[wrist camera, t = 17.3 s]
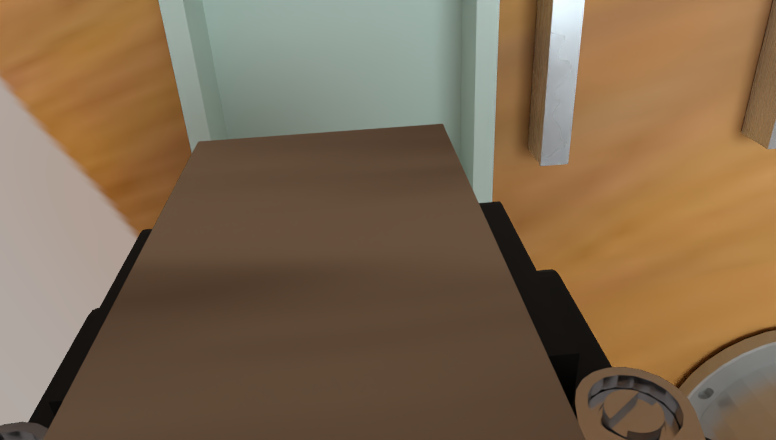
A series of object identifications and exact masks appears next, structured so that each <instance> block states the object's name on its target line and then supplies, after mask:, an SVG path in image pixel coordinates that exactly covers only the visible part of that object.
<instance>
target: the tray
mask: <svg viewBox="0 0 776 440" xmlns="http://www.w3.org/2000/svg"><path fill="white" fill-rule="evenodd" d="M158 1H159V5H160V10H161V15H162V19H163V24H164V28H165V33H166V38H167V42H168V47H169V51H170V56H171V60H172V65H173V70H174V74H175V79H176V83H177V88H178V93H179V97H180V102H181V106H182V111H183V115H184V120H185V125H186V129H187V134H188V138H189V143H190V148H191V152H193V150H194V149H195V147H196V145H197V143H198V141H212V140H226V139H239V138H253V137H267V136H280V135H294V134H308V133H321V132H335V131H349V130H362V129H376V128H390V127H403V126H417V125H431V124H443V125H444V128H445V130H446V132H447V134H448V136H449V139H450V141H451V143H452V145H453V147H454V150H455V152H456V154H457V156H458V158H459V161H460V163H461V165H462V167H463V169H464V172H465V174H466V176H467V178H468V181H469V183H470V185H471V187H472V189H473V192H474V194H475V196H476V198H477V200H478V203H486V202H492V189H493V163H494V136H495V110H496V84H497V57H498V31H499V5H500V0H158Z"/></svg>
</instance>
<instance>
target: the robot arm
mask: <svg viewBox="0 0 776 440" xmlns="http://www.w3.org/2000/svg"><path fill="white" fill-rule="evenodd" d="M479 205H480V207H481V209H482V211H483V214H484V216H485V218H486V220H487V222H488V225H489V227H490V229H491V231H492V234H493V236H494V238H495V240H496V242H497V245H498V247H499V249H500V251H501V253H502V256H503V258H504V260H505V262H506V264H507V267H508V269H509V271H510V273H511V276H512V278H513V280H514V282H515V284H516V287H517V289H518V291H519V293H520V295H521V298H522V300H523V302H524V304H525V306H526V309H527V311H528V313H529V315H530V317H531V320H532V322H533V324H534V326H535V329H536V331H537V333H538V335H539V337H540V340H541V342H542V344H543V346H544V348H545V351H546V353H547V355H548V357H549V359H550V362H551V364H552V366H553V368H554V370H555V373H556V375H557V377H558V379H559V382H560V384H561V386H562V388H563V390H564V393H565V395H566V397H567V399H568V401H569V404H570V406H571V408H572V410H573V412H574V415H575V417H576V419H577V421H578V423H579V426H580V428H581V430H582V432H583V435H584V437H585V439H586V440H776V330H774V331H769V332H765V333H762V334H759V335H756V336H753V337H750V338H747V339H744V340H742V341H740V342H738V343H736V344H734V345H732V346H730V347H728V348H726V349H724V350H722V351H721V352H719V353H718V354H716V355H715V356H713V357H712V358H710V359H709V360H707V361H706V362H705V363H703V364H702V365H701V366H700V367H699V368H698V369H696V370H695V371H694V372H693V373H692V374H691V375H690V376H689V377H688V378H687V379H686V381H685V382H684V383H683V384H682V385H681V386H680V387H679V389H678V388H677V387H676V386H674V385H673V384H671V383H669V382H668V381H666V380H664V379H663V378H661V377H660V376H657V375H654V374H651V373H649V372H646V371H643V370H639V369H633V368H627V367H612V366H611V365H610V363H609V361H608V359H607V358H606V356H605V354H604V352H603V351H602V349H601V347H600V345H599V344H598V342H597V340H596V338H595V337H594V335H593V333H592V331H591V330H590V328H589V326H588V324H587V323H586V321H585V319H584V318H583V316H582V314H581V312H580V311H579V309H578V307H577V305H576V304H575V302H574V300H573V298H572V297H571V295H570V293H569V291H568V290H567V288H566V286H565V284H564V283H563V281H562V279H561V277H560V276H559V274H558V273H557V272H556V271H555V270H540V271H536V269H535V267H534V265H533V263H532V261H531V259H530V257H529V255H528V253H527V252H526V250H525V248H524V246H523V244H522V242H521V240H520V238H519V236H518V234H517V232H516V230H515V229H514V227H513V225H512V223H511V221H510V219H509V217H508V215H507V213H506V211H505V209H504V207H503V206H502V204H501V202H486V203H479ZM151 231H152V229H146V230H143V231H142V232H141V233H140V235H139V237H138V238H137V240H136V242H135V244H134V246H133V248H132V250H131V251H130V253H129V255H128V257H127V259H126V260H125V262H124V264H123V266H122V268H121V270H120V271H119V273H118V275H117V277H116V279H115V281H114V283H113V284H112V286H111V288H110V290H109V291H108V293H107V295H106V297H105V299H104V301H103V303H102V304H101V306H100V308H97V309H95V310H92V312H91V313H90V314H89V315H88V317H87V319H86V320H85V322H84V324H83V326H82V328H81V329H80V331H79V333H78V335H77V336H76V338H75V340H74V342H73V343H72V345H71V347H70V349H69V351H68V352H67V354H66V356H65V358H64V360H63V362H62V363H61V365H60V367H59V368H58V370H57V372H56V374H55V375H54V377H53V379H52V381H51V383H50V384H49V386H48V388H47V390H46V391H45V393H44V395H43V397H42V398H41V400H40V402H39V404H38V406H37V407H36V409H35V411H34V413H33V415H32V416H31V418H30V420H29V422H19V423H11V424H4V425H1V426H0V440H43V439H44V437H45V435H46V433H47V431H48V429H49V427H50V425H51V423H52V421H53V419H54V418H55V416H56V414H57V412H58V410H59V408H60V406H61V404H62V402H63V400H64V398H65V396H66V394H67V393H68V391H69V389H70V387H71V385H72V383H73V381H74V379H75V377H76V375H77V373H78V371H79V369H80V368H81V366H82V364H83V362H84V360H85V358H86V356H87V354H88V352H89V350H90V348H91V346H92V345H93V343H94V341H95V339H96V337H97V335H98V333H99V331H100V329H101V327H102V325H103V323H104V321H105V320H106V318H107V316H108V314H109V312H110V310H111V308H112V306H113V304H114V302H115V300H116V298H117V296H118V295H119V293H120V291H121V289H122V287H123V285H124V283H125V281H126V279H127V277H128V275H129V273H130V272H131V270H132V268H133V266H134V264H135V262H136V260H137V258H138V256H139V254H140V252H141V250H142V248H143V247H144V245H145V243H146V241H147V239H148V237H149V235H150V233H151Z"/></svg>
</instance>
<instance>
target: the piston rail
mask: <svg viewBox="0 0 776 440" xmlns="http://www.w3.org/2000/svg"><path fill="white" fill-rule="evenodd" d="M584 3H585V0H538V1H537V16H536V31H535V46H534V61H533V76H532V92H531V107H530V122H529V137H528V150H529V151H530V152H531V154H532V155H533V156H534V158H535V159H536V161H537V162H538V163H539V165H540V166H547V165H561V164H568V160H569V150H570V140H571V130H572V120H573V111H574V101H575V91H576V81H577V71H578V61H579V52H580V42H581V32H582V22H583V12H584ZM741 133H742V134H744V135H745V136H747V137H749V138H750V139H752V140H754V141H755V142H757V143H758V144H760V145H762V146H763V147H765V148H767V149H776V0H773V4H772V8H771V12H770V16H769V20H768V24H767V29H766V33H765V37H764V41H763V45H762V49H761V53H760V57H759V61H758V66H757V70H756V74H755V78H754V82H753V86H752V90H751V94H750V98H749V103H748V107H747V111H746V115H745V119H744V123H743V127H742V131H741Z"/></svg>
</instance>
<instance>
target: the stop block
mask: <svg viewBox="0 0 776 440" xmlns="http://www.w3.org/2000/svg"><path fill="white" fill-rule="evenodd" d="M43 440H586V439H585V437H584V435H583V432H582V430H581V428H580V426H579V423H578V421H577V419H576V417H575V415H574V412H573V410H572V408H571V406H570V404H569V401H568V399H567V397H566V395H565V393H564V390H563V388H562V386H561V384H560V382H559V379H558V377H557V375H556V373H555V370H554V368H553V366H552V364H551V362H550V359H549V357H548V355H547V353H546V351H545V348H544V346H543V344H542V342H541V340H540V337H539V335H538V333H537V331H536V329H535V326H534V324H533V322H532V320H531V317H530V315H529V313H528V311H527V309H526V306H525V304H524V302H523V300H522V298H521V295H520V293H519V291H518V289H517V287H516V284H515V282H514V280H513V278H512V276H511V273H510V271H509V269H508V267H507V264H506V262H505V260H504V258H503V256H502V253H501V251H500V249H499V247H498V245H497V242H496V240H495V238H494V236H493V234H492V231H491V229H490V227H489V225H488V222H487V220H486V218H485V216H484V214H483V211H482V209H481V207H480V205H479V203H478V200H477V198H476V196H475V194H474V192H473V189H472V187H471V185H470V183H469V181H468V178H467V176H466V174H465V172H464V169H463V167H462V165H461V163H460V161H459V158H458V156H457V154H456V152H455V150H454V147H453V145H452V143H451V141H450V139H449V136H448V134H447V132H446V130H445V128H444V125H443V124H431V125H417V126H403V127H390V128H376V129H362V130H349V131H335V132H321V133H308V134H294V135H280V136H267V137H253V138H239V139H226V140H212V141H198V143H197V145H196V147H195V149H194V150H193V152H192V154H191V156H190V158H189V160H188V162H187V164H186V166H185V168H184V170H183V172H182V174H181V175H180V177H179V179H178V181H177V183H176V185H175V187H174V189H173V191H172V193H171V195H170V197H169V199H168V200H167V202H166V204H165V206H164V208H163V210H162V212H161V214H160V216H159V218H158V220H157V222H156V223H155V225H154V227H153V229H152V231H151V233H150V235H149V237H148V239H147V241H146V243H145V245H144V247H143V248H142V250H141V252H140V254H139V256H138V258H137V260H136V262H135V264H134V266H133V268H132V270H131V272H130V273H129V275H128V277H127V279H126V281H125V283H124V285H123V287H122V289H121V291H120V293H119V295H118V296H117V298H116V300H115V302H114V304H113V306H112V308H111V310H110V312H109V314H108V316H107V318H106V320H105V321H104V323H103V325H102V327H101V329H100V331H99V333H98V335H97V337H96V339H95V341H94V343H93V345H92V346H91V348H90V350H89V352H88V354H87V356H86V358H85V360H84V362H83V364H82V366H81V368H80V369H79V371H78V373H77V375H76V377H75V379H74V381H73V383H72V385H71V387H70V389H69V391H68V393H67V394H66V396H65V398H64V400H63V402H62V404H61V406H60V408H59V410H58V412H57V414H56V416H55V418H54V419H53V421H52V423H51V425H50V427H49V429H48V431H47V433H46V435H45V437H44V439H43Z"/></svg>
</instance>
